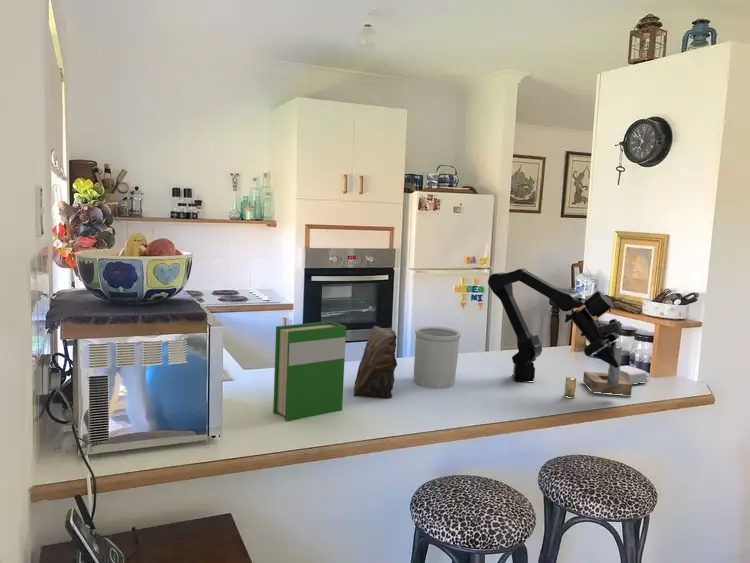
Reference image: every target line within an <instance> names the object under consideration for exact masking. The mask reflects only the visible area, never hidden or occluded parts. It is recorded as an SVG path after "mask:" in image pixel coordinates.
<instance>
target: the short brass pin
mask: <svg viewBox="0 0 750 563" xmlns="http://www.w3.org/2000/svg"><path fill="white" fill-rule="evenodd" d="M564 383H565V385H564V394H563V396H564V395H565V396H568V397H576V396H575V395H576V387H577V378H575V377H573V376H572V377H571V376H566V377H565V382H564ZM565 396H564V397H565Z"/></svg>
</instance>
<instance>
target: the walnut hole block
mask: <svg viewBox="0 0 750 563" xmlns="http://www.w3.org/2000/svg"><path fill="white" fill-rule="evenodd" d="M582 380H583V381H582V383H583V382H584V383H585V384H586V385H587V386H588V387H589V388H590V389H591V390H592V391H593V392H601V393H612V394H623V395H631V396H632V387H633V385H632V384H631V383H629V382H628V381H627V380H626V379H625V378H623V377H622V376H621V375H620V374H619V381H618V387H612V386H608V385H607V381H608V372H593V371H583V379H582Z"/></svg>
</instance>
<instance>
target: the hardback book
mask: <svg viewBox="0 0 750 563" xmlns="http://www.w3.org/2000/svg"><path fill="white" fill-rule="evenodd" d="M346 335H347V326H346V325H344V324H343V325H342V324H341V323H338V322H335V321H332V320H331V321H330V320H329V321H321V322H319V321H318V322H309V323H299V324H288V325H278V326H277V325H276V327H275V342H274V343H275V347H274V372H273V373H274V378H273V379H274V380H273V407H272V409H273V410H272V413H273V414H274V415H276V414H281V415H282V416H284V421H285V422H287V423H288V422H292V421H296V420H301V419H307V418H310V417H311V418H312V417H317V416H321V415H324V414H325V415H326V414H329V413H335V412H340V411H343V398H344V396H343V395H344V380H345V379H344V376H345V356H346V338H347V336H346Z"/></svg>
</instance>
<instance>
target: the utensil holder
mask: <svg viewBox="0 0 750 563" xmlns="http://www.w3.org/2000/svg"><path fill="white" fill-rule="evenodd" d="M414 333H415V345H414V347H415V348H414V362H413V382H414V383H415V384H417V385H419V386H421V387H425V388H430V389H449V388H451V387H453V386H455V382H456V375H457V374H456V373H457V366H458V358H459V357H458V356H459V355H458V354H459V345H460V339H461V332H460V331H459V330H456V329H453V328H450V327H443V326H435V325H433V326H430V325H429V326H428V325H427V326H420V327H416V328H415V332H414Z"/></svg>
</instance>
